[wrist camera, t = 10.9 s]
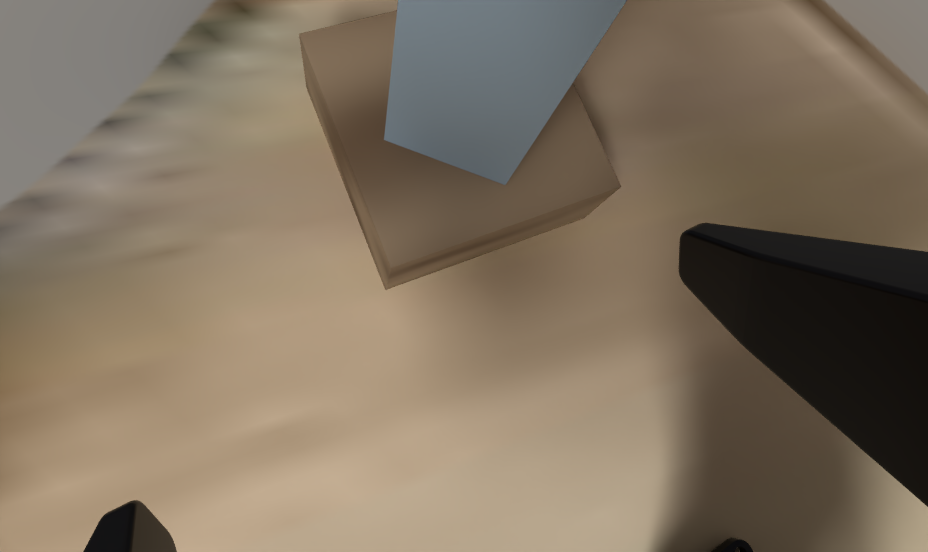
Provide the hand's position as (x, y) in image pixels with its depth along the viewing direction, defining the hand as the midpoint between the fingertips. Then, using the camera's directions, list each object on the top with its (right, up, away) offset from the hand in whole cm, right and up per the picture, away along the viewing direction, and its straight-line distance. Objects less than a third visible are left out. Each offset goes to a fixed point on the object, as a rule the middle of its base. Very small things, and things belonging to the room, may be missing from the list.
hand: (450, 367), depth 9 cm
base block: (-1, +6, +16) cm, 17 cm away
